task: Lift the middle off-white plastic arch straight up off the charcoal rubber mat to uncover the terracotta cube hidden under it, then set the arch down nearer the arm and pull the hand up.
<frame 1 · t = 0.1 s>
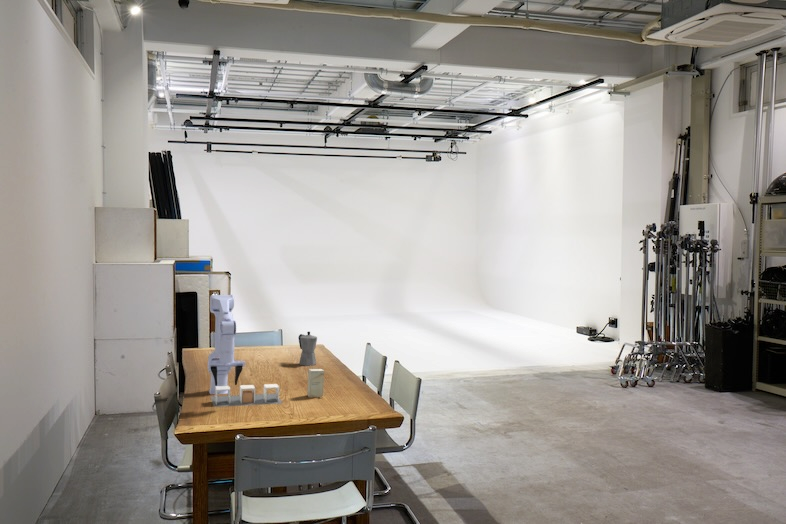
hand: (225, 384, 266), 10 cm above the table, fingers open, 7 cm apart
coffeepot: (306, 364, 362), on the table
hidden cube: (247, 401, 277), point 1 cm above the table, touching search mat
skincare box: (315, 397, 291), on the table
arch middle: (247, 401, 277), point 1 cm above the table, touching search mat
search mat: (246, 401, 280), on the table
arch right: (271, 400, 280), point 1 cm above the table, touching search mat
arch left: (222, 402, 274), point 1 cm above the table, touching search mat
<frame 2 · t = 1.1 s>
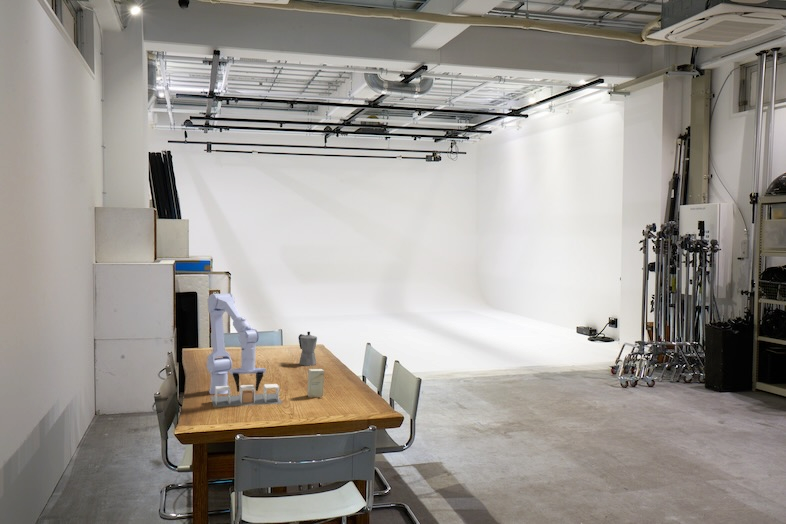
hand: (247, 390, 277), 5 cm above the table, fingers open, 7 cm apart
nothing on the table moved.
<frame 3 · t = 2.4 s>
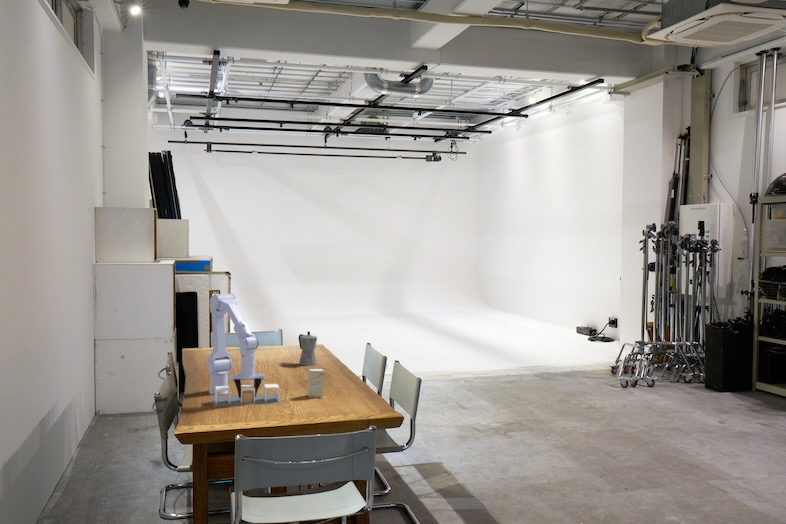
hand: (247, 397, 277), 2 cm above the table, fingers closed on arch middle, 6 cm apart
arch middle: (247, 401, 277), point 1 cm above the table, touching gripper, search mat
everything else where it was.
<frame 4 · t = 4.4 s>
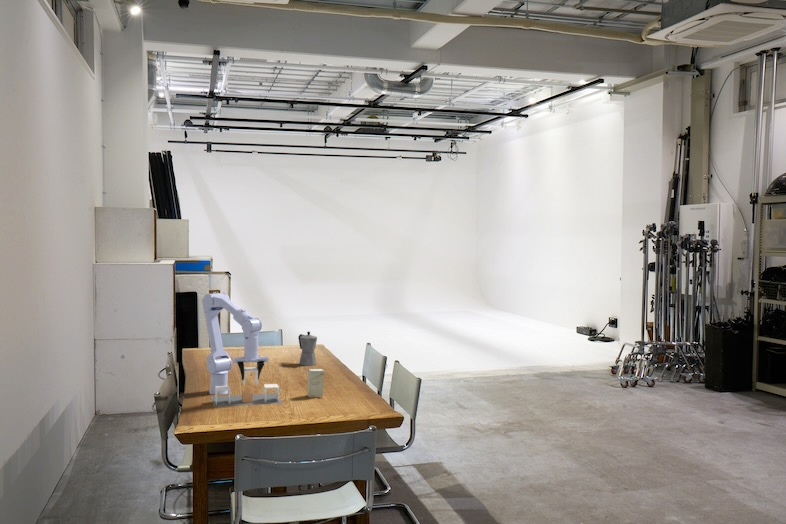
hand: (250, 379, 280), 9 cm above the table, fingers closed on arch middle, 6 cm apart
arch middle: (250, 383, 280), point 8 cm above the table, touching gripper
everything else where it was.
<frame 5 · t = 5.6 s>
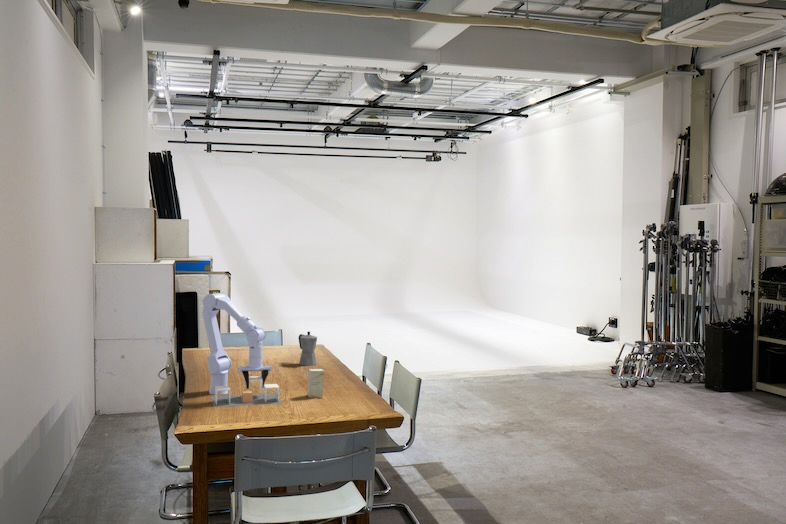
hand: (254, 387, 285), 4 cm above the table, fingers closed on arch middle, 6 cm apart
arch middle: (254, 392, 285), point 3 cm above the table, touching gripper
everything else where it was.
when the fingers open (4 cm above the table, at t = 6.7 s): arch middle drops 1 cm, resting on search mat.
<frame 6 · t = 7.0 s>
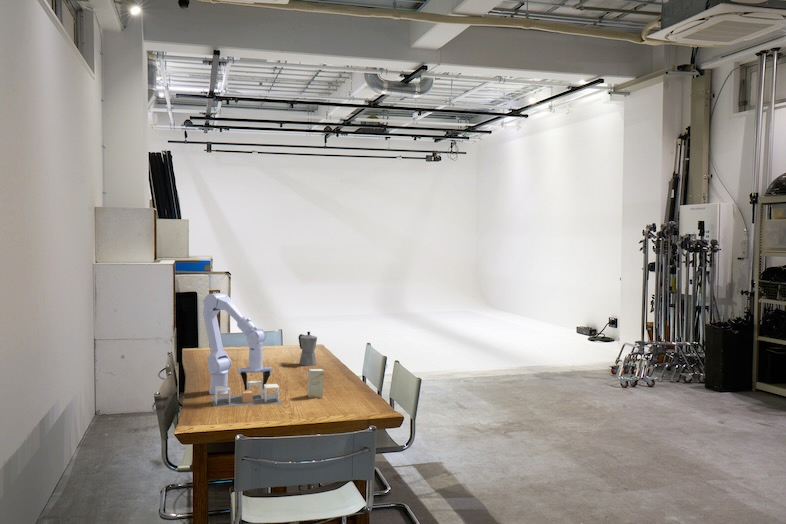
hand: (254, 389, 285), 4 cm above the table, fingers open, 7 cm apart
arch middle: (254, 396, 285), point 1 cm above the table, touching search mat
everything else where it was.
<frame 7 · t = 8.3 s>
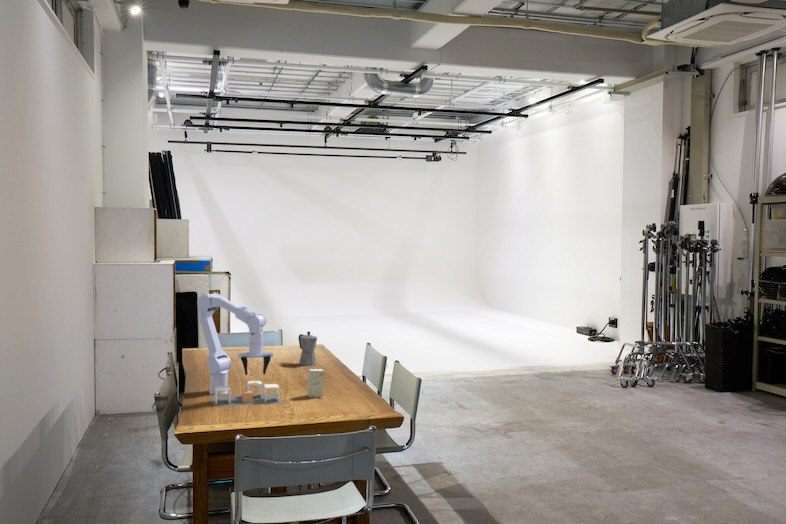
hand: (255, 374, 285), 10 cm above the table, fingers open, 7 cm apart
nothing on the table moved.
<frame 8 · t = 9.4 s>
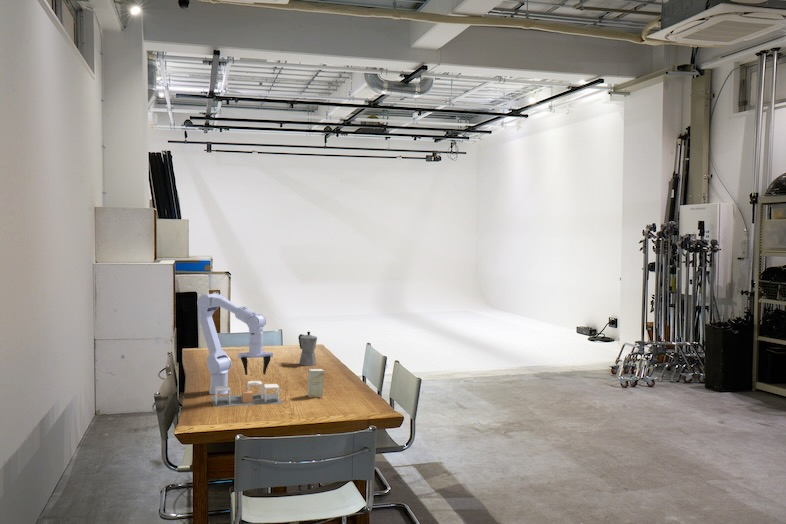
hand: (255, 374, 285), 10 cm above the table, fingers open, 7 cm apart
nothing on the table moved.
at the end: arch middle 0.0 cm from the target spot, point 0.6 cm above the table; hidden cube moved 0.0 cm from its start; arch middle tilted 0° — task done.
